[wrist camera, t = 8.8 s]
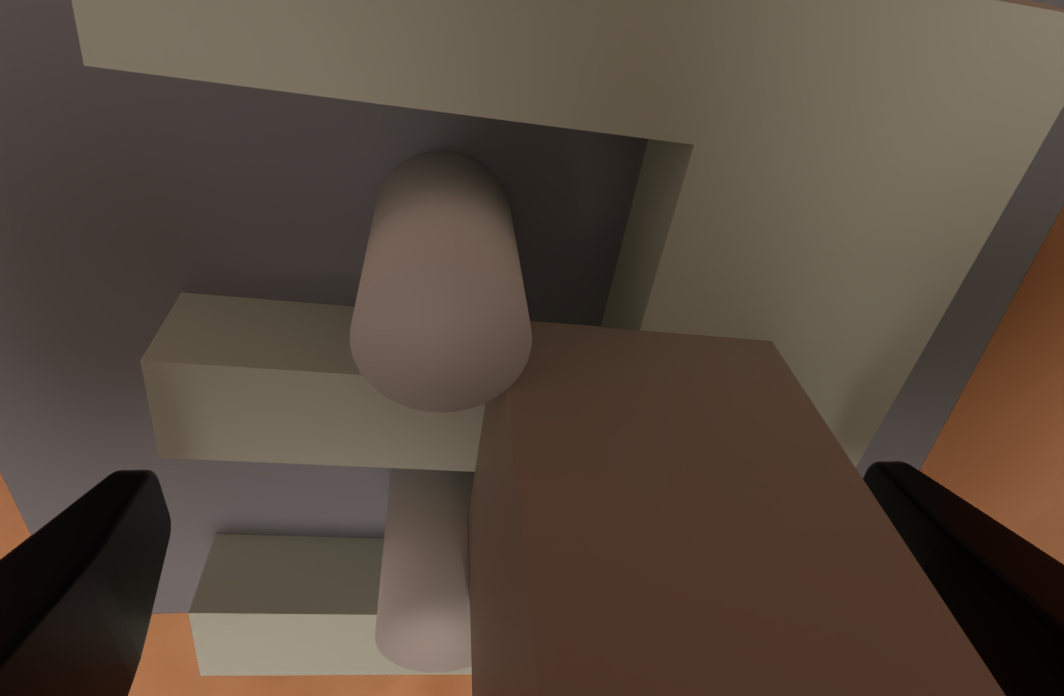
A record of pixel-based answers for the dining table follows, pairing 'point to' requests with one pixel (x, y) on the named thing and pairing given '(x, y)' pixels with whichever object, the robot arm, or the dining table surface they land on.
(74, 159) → the slate board
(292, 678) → the dining table surface
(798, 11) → the two-prong bracket
